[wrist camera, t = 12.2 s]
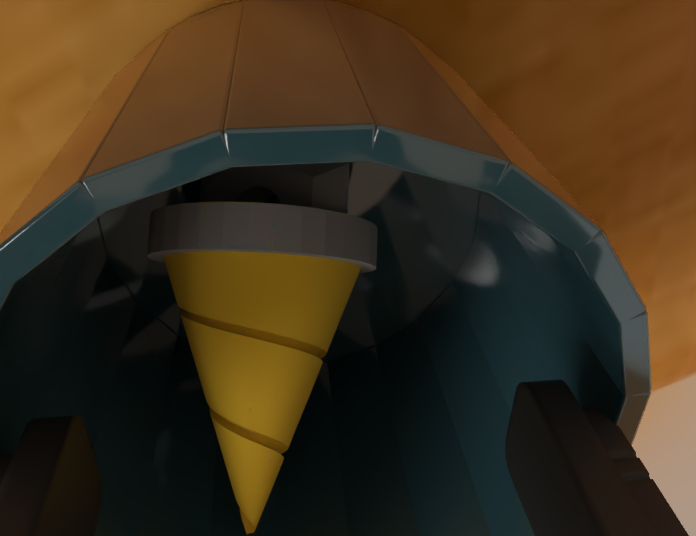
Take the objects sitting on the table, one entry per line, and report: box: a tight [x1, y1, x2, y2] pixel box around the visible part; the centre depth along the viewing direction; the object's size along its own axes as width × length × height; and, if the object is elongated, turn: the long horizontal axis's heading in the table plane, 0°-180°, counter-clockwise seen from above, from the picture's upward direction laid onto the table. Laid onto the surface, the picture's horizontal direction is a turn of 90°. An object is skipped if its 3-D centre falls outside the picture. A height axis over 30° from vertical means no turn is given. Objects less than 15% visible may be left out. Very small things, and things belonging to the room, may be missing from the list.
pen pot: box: [0, 0, 652, 536], centre depth 14 cm, size 12×12×9 cm
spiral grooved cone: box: [147, 162, 378, 534], centre depth 15 cm, size 5×5×10 cm
